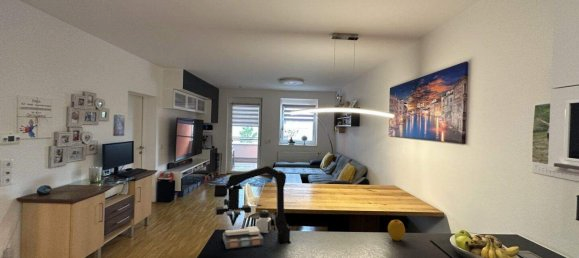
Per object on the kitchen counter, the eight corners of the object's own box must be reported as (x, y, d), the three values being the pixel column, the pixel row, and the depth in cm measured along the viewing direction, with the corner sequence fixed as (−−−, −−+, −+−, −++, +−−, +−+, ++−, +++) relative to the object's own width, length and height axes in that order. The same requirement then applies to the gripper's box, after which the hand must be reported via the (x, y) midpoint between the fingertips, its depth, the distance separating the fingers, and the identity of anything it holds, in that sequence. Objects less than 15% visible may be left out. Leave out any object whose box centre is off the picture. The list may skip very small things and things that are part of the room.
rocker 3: (256, 230, 178) (256, 226, 178) (259, 235, 170) (259, 231, 170) (246, 231, 176) (246, 227, 176) (249, 236, 168) (249, 232, 168)
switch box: (257, 235, 180) (257, 229, 180) (263, 244, 166) (263, 238, 166) (222, 239, 173) (222, 232, 173) (226, 249, 160) (226, 242, 159)
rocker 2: (246, 233, 175) (246, 228, 176) (249, 234, 168) (249, 230, 168) (235, 234, 173) (235, 229, 174) (238, 236, 166) (238, 231, 166)
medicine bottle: (267, 233, 184) (268, 213, 184) (256, 232, 186) (257, 212, 185) (271, 229, 191) (271, 210, 191) (260, 228, 193) (260, 209, 192)
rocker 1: (235, 234, 173) (235, 229, 174) (238, 236, 166) (238, 231, 166) (225, 235, 171) (225, 230, 172) (227, 237, 164) (227, 232, 164)
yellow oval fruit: (390, 235, 186) (391, 216, 186) (406, 239, 181) (407, 219, 180) (385, 239, 178) (385, 220, 178) (402, 244, 173) (402, 223, 173)
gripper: (247, 192, 177) (246, 219, 177) (214, 194, 170) (213, 222, 171) (251, 197, 166) (250, 225, 166) (216, 199, 160) (216, 228, 160)
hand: (232, 225), depth 166 cm, fingers closed
